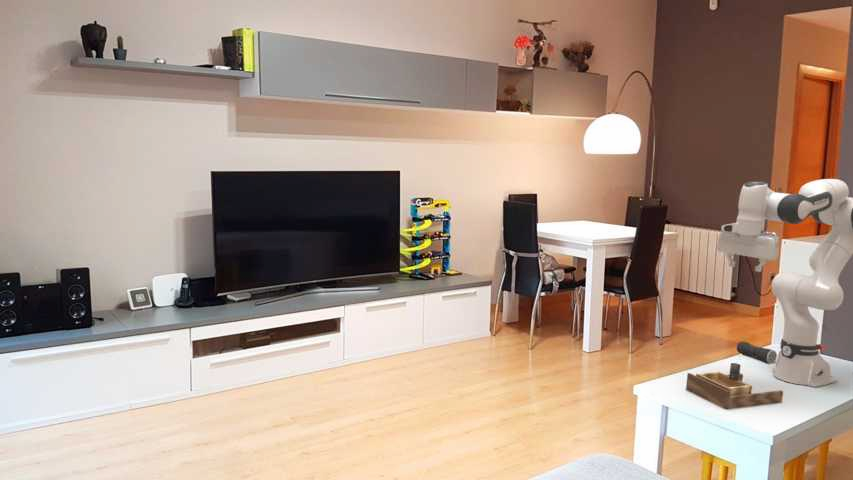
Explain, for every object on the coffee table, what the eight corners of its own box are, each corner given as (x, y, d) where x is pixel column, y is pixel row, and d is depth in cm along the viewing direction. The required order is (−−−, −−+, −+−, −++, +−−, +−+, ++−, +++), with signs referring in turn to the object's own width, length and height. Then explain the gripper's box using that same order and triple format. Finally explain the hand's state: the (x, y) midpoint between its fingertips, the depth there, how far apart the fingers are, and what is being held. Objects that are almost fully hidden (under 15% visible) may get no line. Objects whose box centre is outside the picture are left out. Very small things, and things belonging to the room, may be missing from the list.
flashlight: (734, 353, 292) (736, 340, 291) (743, 352, 295) (744, 339, 294) (767, 364, 279) (768, 351, 278) (776, 363, 281) (777, 350, 280)
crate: (719, 388, 244) (722, 357, 242) (752, 403, 230) (756, 371, 229) (694, 390, 240) (697, 359, 238) (726, 406, 226) (730, 373, 225)
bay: (739, 387, 250) (741, 368, 249) (781, 405, 233) (783, 385, 232) (685, 392, 241) (687, 373, 240) (725, 412, 224) (727, 391, 223)
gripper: (784, 233, 234) (779, 273, 236) (726, 225, 250) (722, 263, 252) (775, 233, 230) (770, 275, 232) (717, 225, 246) (712, 264, 248)
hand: (744, 268), depth 242 cm, fingers open, 8 cm apart
